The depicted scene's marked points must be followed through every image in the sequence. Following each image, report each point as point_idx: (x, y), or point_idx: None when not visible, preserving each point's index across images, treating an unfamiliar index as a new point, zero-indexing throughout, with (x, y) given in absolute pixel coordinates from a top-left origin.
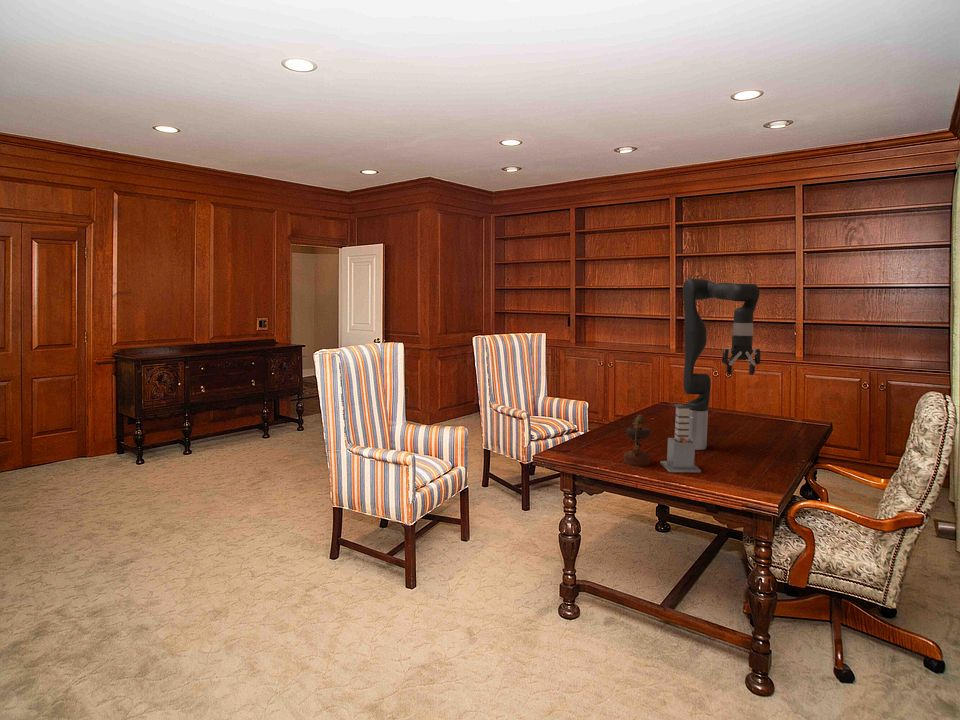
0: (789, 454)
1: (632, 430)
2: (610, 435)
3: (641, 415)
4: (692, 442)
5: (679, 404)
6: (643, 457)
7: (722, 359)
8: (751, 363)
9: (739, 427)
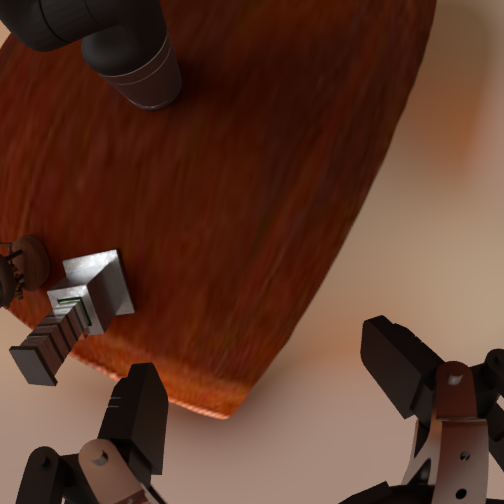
0: (369, 121)
1: None
2: (13, 59)
3: None
4: (98, 328)
5: (20, 356)
6: (34, 288)
7: (29, 487)
8: (416, 437)
9: None
